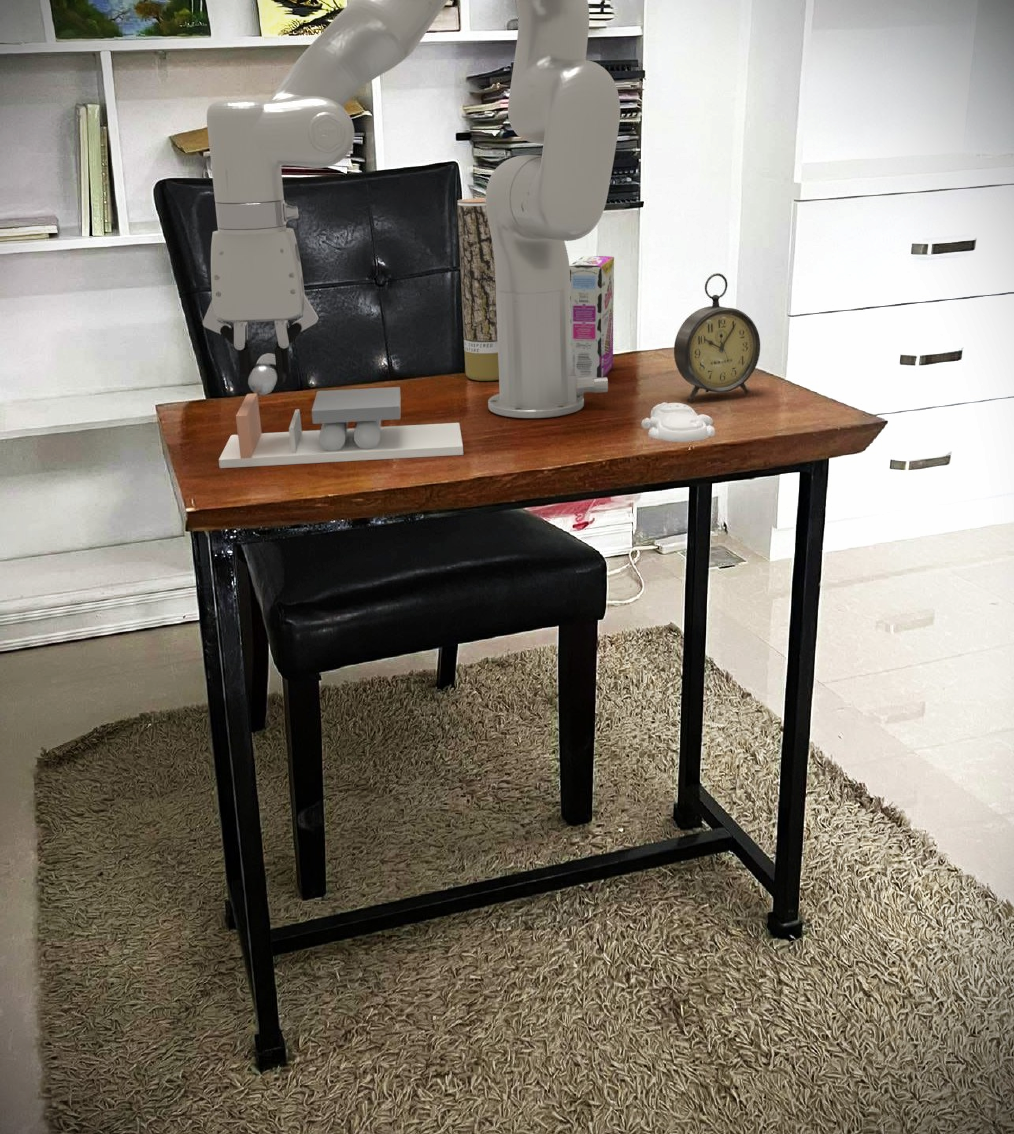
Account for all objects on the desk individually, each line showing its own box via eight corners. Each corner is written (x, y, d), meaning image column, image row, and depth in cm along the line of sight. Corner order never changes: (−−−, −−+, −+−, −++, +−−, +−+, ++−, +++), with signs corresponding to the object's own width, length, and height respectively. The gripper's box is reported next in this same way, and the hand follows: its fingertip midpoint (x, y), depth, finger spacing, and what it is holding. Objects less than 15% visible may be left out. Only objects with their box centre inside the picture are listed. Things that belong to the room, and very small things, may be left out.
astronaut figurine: (710, 419, 158) (711, 395, 157) (716, 444, 147) (717, 419, 146) (640, 419, 159) (641, 396, 158) (641, 445, 148) (641, 420, 147)
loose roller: (282, 378, 151) (281, 353, 150) (275, 395, 142) (274, 369, 141) (257, 378, 150) (256, 353, 149) (248, 394, 142) (247, 368, 141)
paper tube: (506, 382, 180) (500, 201, 171) (460, 382, 181) (452, 202, 172) (516, 372, 186) (510, 197, 177) (471, 372, 187) (463, 198, 178)
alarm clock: (686, 405, 163) (689, 279, 158) (668, 397, 168) (669, 274, 162) (760, 396, 167) (765, 272, 161) (740, 388, 172) (743, 267, 166)
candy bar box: (602, 384, 177) (602, 265, 171) (568, 383, 178) (566, 265, 172) (615, 367, 187) (615, 254, 181) (582, 366, 188) (581, 254, 182)
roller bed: (459, 430, 156) (457, 383, 154) (463, 454, 146) (460, 404, 143) (232, 442, 154) (226, 395, 152) (219, 468, 144) (213, 417, 142)
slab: (400, 398, 153) (399, 386, 153) (400, 419, 144) (399, 406, 143) (318, 403, 153) (317, 391, 152) (312, 423, 143) (311, 411, 143)
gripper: (326, 213, 144) (338, 371, 150) (182, 217, 143) (200, 377, 149) (322, 219, 137) (335, 385, 143) (171, 223, 136) (190, 391, 142)
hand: (266, 379), depth 146 cm, fingers closed on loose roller, 3 cm apart
